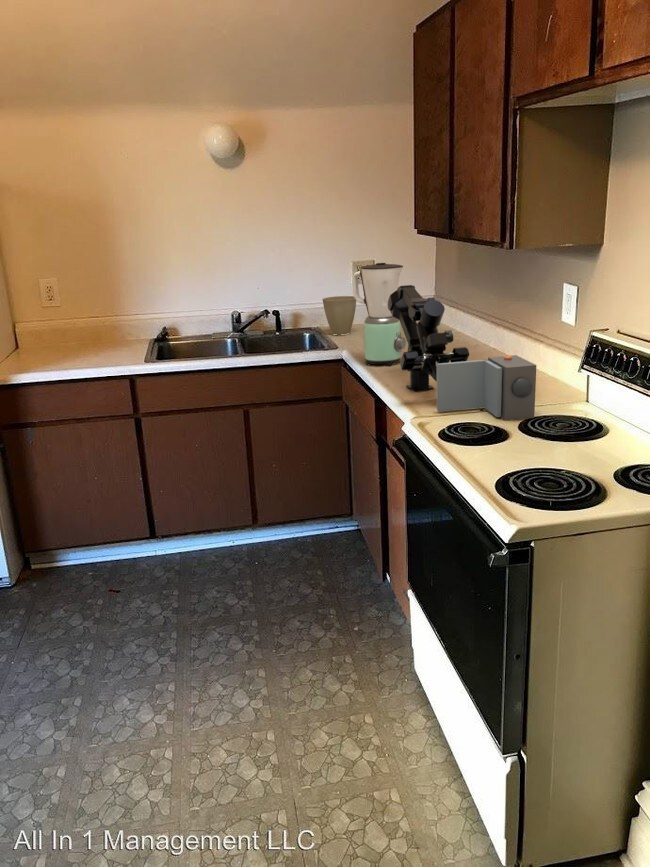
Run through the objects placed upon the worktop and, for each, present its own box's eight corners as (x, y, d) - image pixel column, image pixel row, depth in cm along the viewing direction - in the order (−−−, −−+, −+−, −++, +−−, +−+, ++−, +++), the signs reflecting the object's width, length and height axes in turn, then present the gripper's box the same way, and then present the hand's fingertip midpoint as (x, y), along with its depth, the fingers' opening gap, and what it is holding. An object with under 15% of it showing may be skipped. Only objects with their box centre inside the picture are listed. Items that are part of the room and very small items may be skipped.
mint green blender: (411, 360, 259) (410, 261, 248) (397, 368, 248) (395, 265, 237) (363, 357, 267) (360, 261, 256) (348, 365, 256) (344, 265, 245)
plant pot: (364, 333, 314) (363, 297, 309) (338, 338, 306) (336, 301, 301) (343, 330, 325) (342, 294, 320) (317, 334, 317) (315, 298, 312)
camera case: (486, 407, 197) (487, 354, 193) (514, 404, 198) (516, 352, 194) (506, 421, 184) (508, 365, 179) (536, 419, 185) (538, 363, 180)
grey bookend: (436, 409, 196) (435, 363, 192) (485, 405, 198) (485, 358, 194) (449, 421, 185) (449, 372, 181) (500, 416, 187) (502, 368, 183)
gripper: (402, 323, 196) (413, 371, 189) (467, 318, 199) (480, 365, 192) (395, 346, 206) (406, 392, 199) (458, 341, 209) (470, 387, 202)
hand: (440, 384), depth 198 cm, fingers closed
